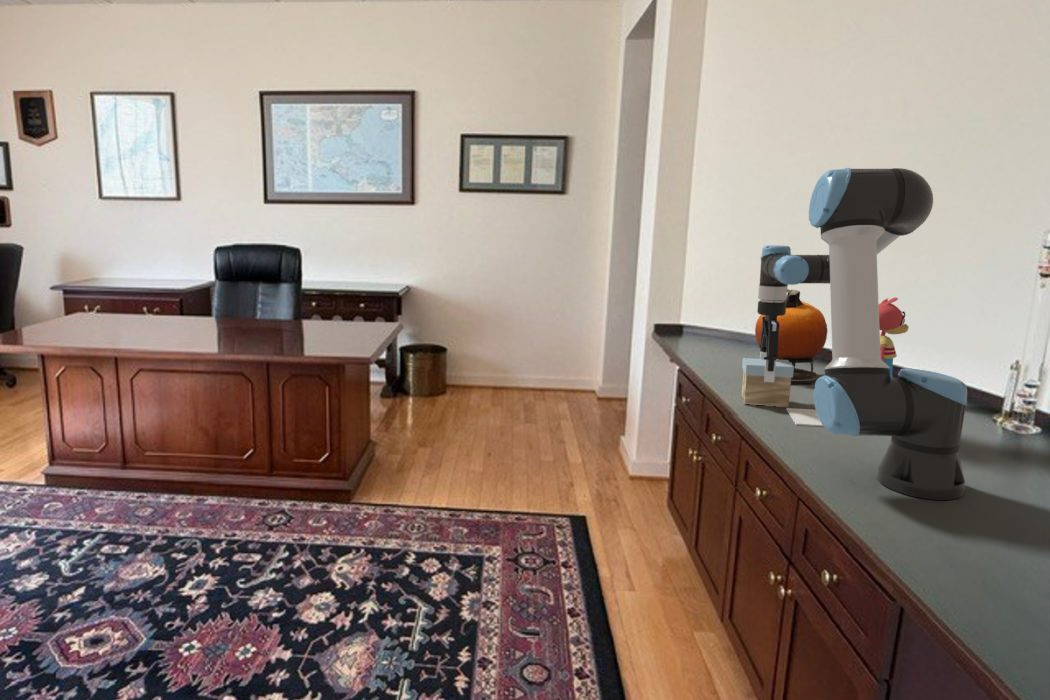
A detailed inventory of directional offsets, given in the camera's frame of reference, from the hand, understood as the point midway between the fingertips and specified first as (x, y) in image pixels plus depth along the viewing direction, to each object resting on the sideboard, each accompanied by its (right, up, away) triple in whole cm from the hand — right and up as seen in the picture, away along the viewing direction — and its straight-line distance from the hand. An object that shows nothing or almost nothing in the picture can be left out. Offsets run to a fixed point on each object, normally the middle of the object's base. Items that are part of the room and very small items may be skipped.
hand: (766, 377), depth 185 cm
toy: (+38, -6, +8) cm, 40 cm away
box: (0, -7, +2) cm, 7 cm away
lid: (0, +2, 0) cm, 2 cm away
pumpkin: (+19, -1, +31) cm, 36 cm away
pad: (+9, -10, -13) cm, 19 cm away
